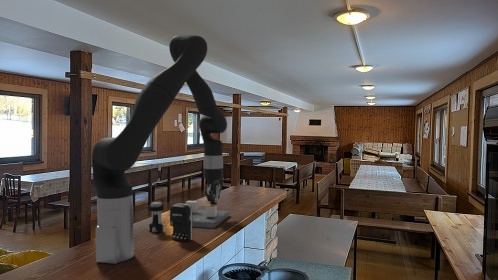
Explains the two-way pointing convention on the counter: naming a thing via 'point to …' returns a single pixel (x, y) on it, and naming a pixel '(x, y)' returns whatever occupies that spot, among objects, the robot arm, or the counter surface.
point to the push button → (156, 217)
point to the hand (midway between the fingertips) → (213, 211)
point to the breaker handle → (210, 210)
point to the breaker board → (203, 221)
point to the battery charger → (181, 222)
